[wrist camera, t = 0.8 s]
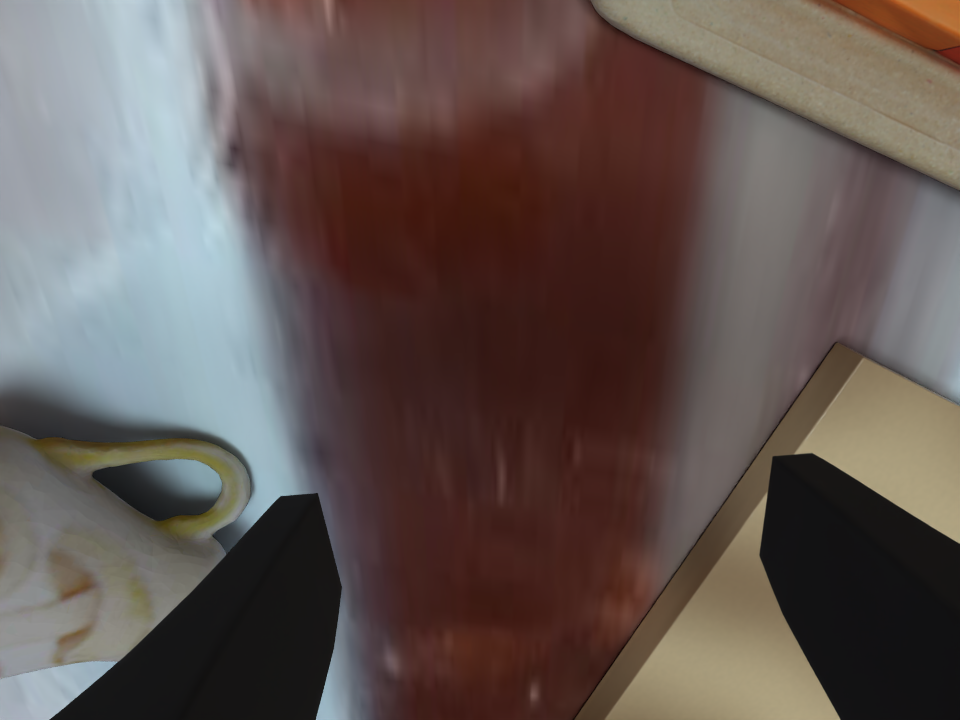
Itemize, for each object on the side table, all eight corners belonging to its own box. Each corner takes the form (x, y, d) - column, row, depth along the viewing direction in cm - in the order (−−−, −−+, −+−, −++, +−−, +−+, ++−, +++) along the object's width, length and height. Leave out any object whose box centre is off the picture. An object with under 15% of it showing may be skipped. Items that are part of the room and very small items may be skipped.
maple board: (830, 835, 29) (850, 871, 28) (556, 744, 26) (562, 779, 25) (1142, 498, 24) (1185, 521, 22) (836, 341, 21) (864, 356, 20)
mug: (230, 646, 24) (-99, 898, 16) (79, 455, 26) (-291, 587, 17) (320, 537, 21) (-44, 786, 12) (138, 324, 22) (-292, 408, 14)
